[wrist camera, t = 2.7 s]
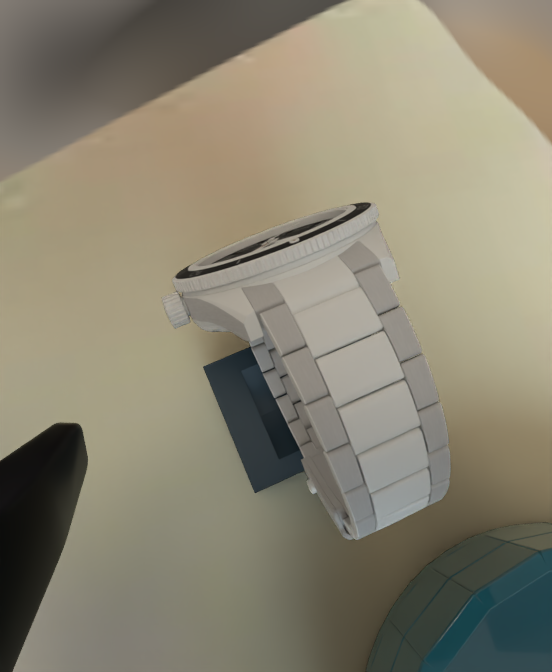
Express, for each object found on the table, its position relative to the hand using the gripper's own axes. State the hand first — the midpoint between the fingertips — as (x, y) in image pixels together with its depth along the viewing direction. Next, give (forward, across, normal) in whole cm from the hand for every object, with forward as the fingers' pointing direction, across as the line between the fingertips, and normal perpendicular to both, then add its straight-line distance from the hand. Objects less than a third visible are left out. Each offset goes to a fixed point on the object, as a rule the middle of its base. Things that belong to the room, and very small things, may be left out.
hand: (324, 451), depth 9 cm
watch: (+9, 0, +6) cm, 10 cm away
